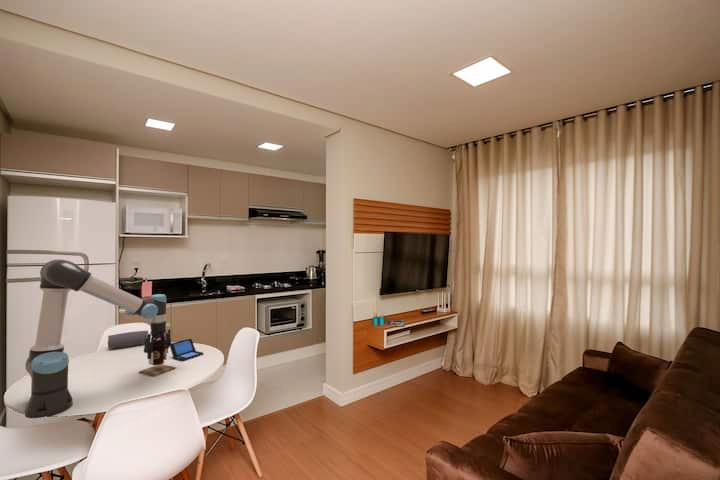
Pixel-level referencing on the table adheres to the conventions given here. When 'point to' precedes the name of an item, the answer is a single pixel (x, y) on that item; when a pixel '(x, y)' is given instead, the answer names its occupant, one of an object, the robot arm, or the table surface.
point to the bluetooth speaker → (126, 339)
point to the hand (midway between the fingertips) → (157, 361)
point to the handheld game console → (184, 350)
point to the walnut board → (157, 370)
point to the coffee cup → (159, 352)
